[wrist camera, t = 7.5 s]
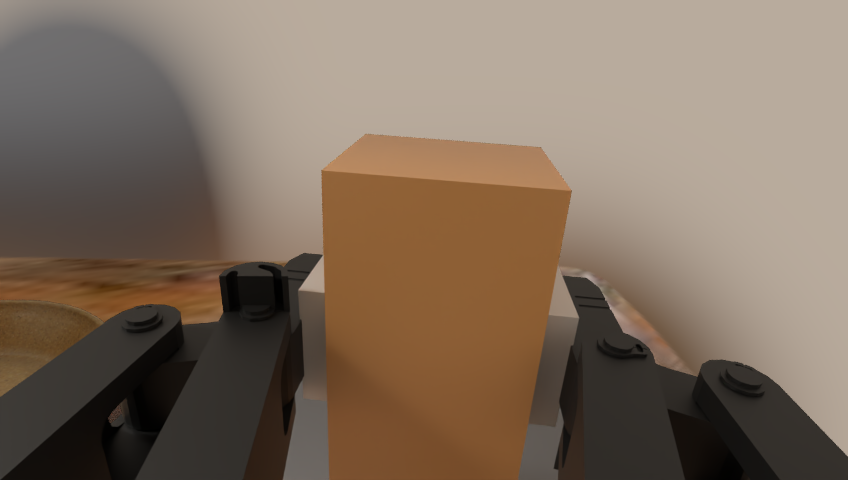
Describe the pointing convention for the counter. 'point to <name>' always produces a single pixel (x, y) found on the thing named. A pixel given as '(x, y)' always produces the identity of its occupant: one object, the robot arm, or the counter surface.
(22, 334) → the plant saucer
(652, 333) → the counter surface
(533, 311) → the breaker handle
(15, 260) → the counter surface
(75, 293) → the counter surface
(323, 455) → the switch box
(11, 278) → the counter surface
